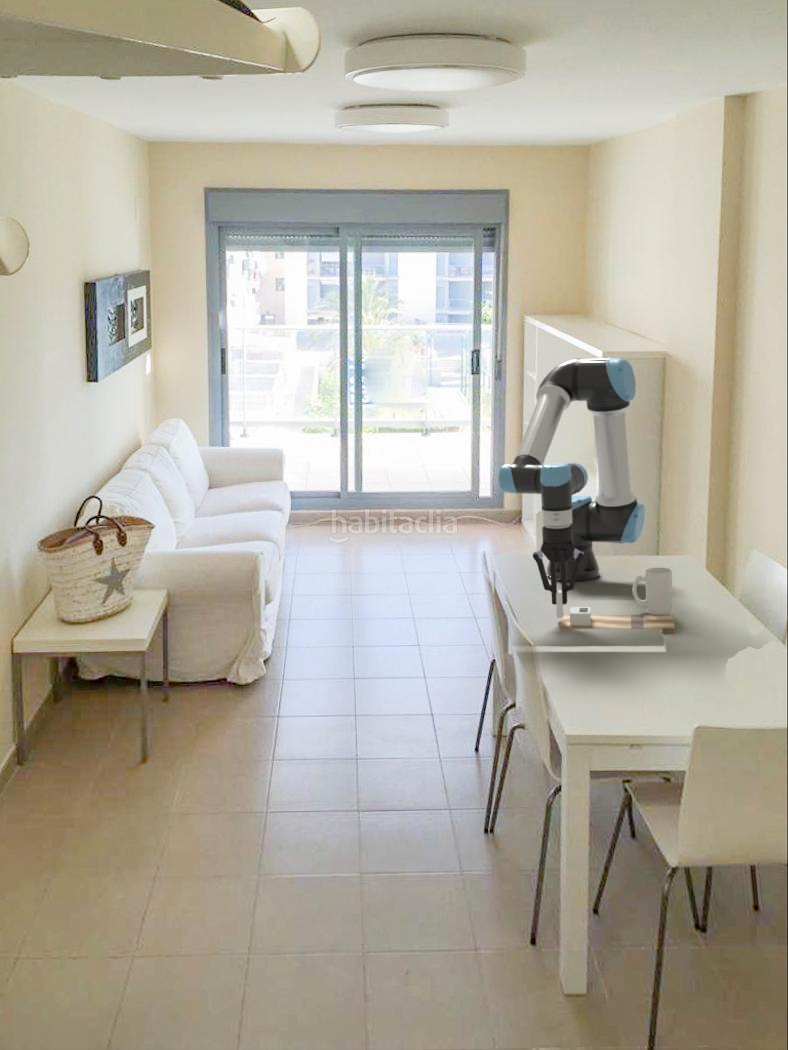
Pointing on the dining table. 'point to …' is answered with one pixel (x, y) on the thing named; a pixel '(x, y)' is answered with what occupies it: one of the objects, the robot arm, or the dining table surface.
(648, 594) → the mug
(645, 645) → the dining table surface
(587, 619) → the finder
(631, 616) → the board
